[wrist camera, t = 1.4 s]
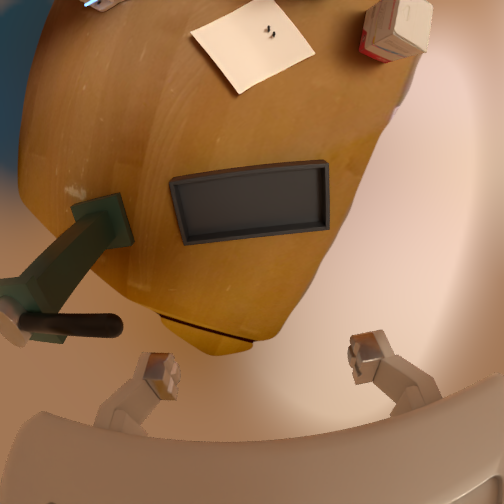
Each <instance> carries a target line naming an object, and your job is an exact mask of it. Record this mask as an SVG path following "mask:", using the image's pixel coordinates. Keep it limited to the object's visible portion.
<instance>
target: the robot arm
mask: <svg viewBox="0 0 504 504" xmlns="http://www.w3.org/2000/svg"><path fill="white" fill-rule="evenodd" d="M79 1H81V2H83V3H85V4H84V6H88V5H89V6H91V7H93V8H94V9H96V10H98V11H100V12H104V11H107V10H108V9H110V8H112V7H113V6H115V5H116V4H118V3H119V2H122V1H125V0H79ZM100 2H101V3H100ZM99 3H100V4H99ZM350 344H351V345H350V346H349V347H348V361H349V365H350V366H351V367H352V368H353V373H352V374H353V378H354V381H355V384H356V385H357V384H363V383H368V382H372V381H373V383H374V384H375V385H376V386H377V387H378V388H380V389H381V390H382V391H383V392H384V393H385V394H386V395H387V396H389V397H390V398H391V399H392V400H393V401H394V402H395V403H396V406H395V407H394V409H393V411H392V412H391V413H390V416H391V417H390V418H387V419H384V420H380V421H377V422H373V423H369V424H365V425H361V426H357V427H353V428H348V429H344V430H340V431H334V432H329V433H323V434H317V435H311V436H304V437H297V438H289V439H278V440H266V441H247V442H202V441H201V442H200V441H183V440H171V439H161V438H154V437H147V436H148V433H147V432H146V431H145V430H144V429H143V428H142V427H141V426H140V425H141V424H142V422H143V421H144V420H145V419H146V418H147V416H148V415H149V414H150V413H151V412H152V410H153V409H154V408H155V407H156V405H157V404H158V403H159V402H160V400H176V399H177V394H178V388H177V386H176V385H177V384H178V383H179V382H180V377H181V374H180V367H179V365H178V363H176V362H175V361H174V359H175V358H174V356H173V354H172V353H148V352H142V354H141V355H140V357H139V360H138V364H137V367H136V370H135V373H134V376H133V379H129V380H128V381H127V382H126V383H125V384H124V385H122V386H121V387H120V388H119V389H118V390H117V391H116V392H115V393H114V394H112V395H111V396H110V397H109V398H108V399H107V400H106V401H105V402H103V403H102V404H101V405H100V407H99V410H98V413H97V416H96V419H95V422H94V426H90V425H87V424H83V423H79V422H76V421H72V420H69V419H66V418H62V417H59V416H56V415H53V414H51V413H48V412H44V411H41V412H39V413H37V414H36V415H34V416H33V417H31V418H30V419H29V420H27V421H26V422H25V423H24V424H23V425H22V426H21V427H20V429H19V431H18V433H17V435H16V437H15V439H14V442H13V444H12V447H11V450H10V453H9V455H8V458H7V461H6V464H5V468H4V472H3V476H2V480H1V485H0V504H504V375H502V374H500V373H493V374H491V375H489V376H487V377H486V378H484V379H482V380H480V381H478V382H476V383H474V384H472V385H470V386H468V387H466V388H464V389H462V390H460V391H458V392H456V393H454V394H452V395H449V396H447V397H445V398H442V396H441V394H440V391H439V389H438V387H437V385H436V383H435V381H434V378H433V377H431V376H430V375H428V374H427V373H425V372H424V371H422V370H420V369H419V368H417V367H416V366H414V365H413V364H411V363H410V362H408V361H407V360H405V359H404V358H402V357H401V356H399V355H395V354H394V352H393V350H392V348H391V346H390V344H389V342H388V339H387V338H386V335H385V333H384V331H383V330H377V331H372V332H366V333H362V334H357V335H352V336H351V337H350Z"/></svg>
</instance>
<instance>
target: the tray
mask: <svg viewBox="0 0 504 504" xmlns="http://www.w3.org/2000/svg"><path fill="white" fill-rule="evenodd" d="M169 186H170V190H171V195H172V199H173V203H174V207H175V212H176V216H177V220H178V224H179V228H180V232H181V236H182V240H183V244H184V246H186V245H195V244H203V243H212V242H220V241H229V240H238V239H247V238H256V237H265V236H274V235H283V234H293V233H302V232H312V231H322V230H329V229H330V196H329V163H327V162H326V161H325V160H310V161H296V162H284V163H273V164H263V165H254V166H245V167H237V168H230V169H223V170H216V171H209V172H203V173H196V174H190V175H184V176H179V177H174V178H173V179H172V180H171V181H170V182H169Z"/></svg>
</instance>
